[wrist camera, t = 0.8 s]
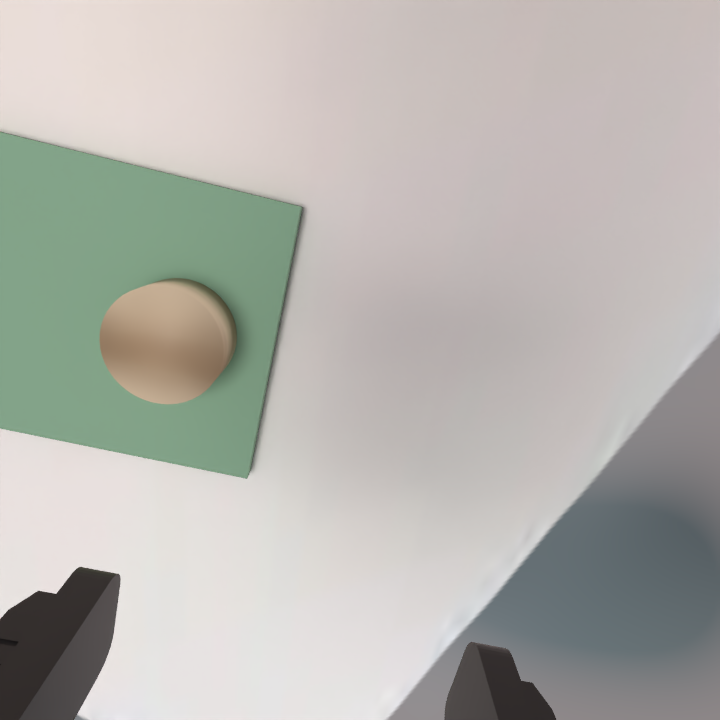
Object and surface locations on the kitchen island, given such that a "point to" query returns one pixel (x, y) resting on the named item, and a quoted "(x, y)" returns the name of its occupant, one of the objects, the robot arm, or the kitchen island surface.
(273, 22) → the kitchen island surface
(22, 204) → the putting green
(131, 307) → the puck
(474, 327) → the kitchen island surface
